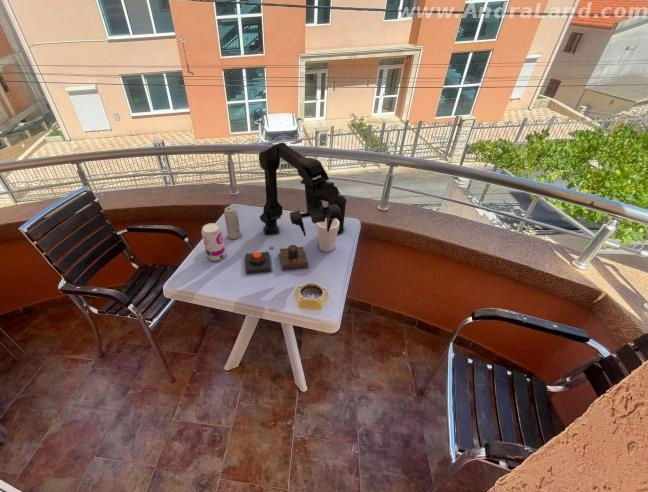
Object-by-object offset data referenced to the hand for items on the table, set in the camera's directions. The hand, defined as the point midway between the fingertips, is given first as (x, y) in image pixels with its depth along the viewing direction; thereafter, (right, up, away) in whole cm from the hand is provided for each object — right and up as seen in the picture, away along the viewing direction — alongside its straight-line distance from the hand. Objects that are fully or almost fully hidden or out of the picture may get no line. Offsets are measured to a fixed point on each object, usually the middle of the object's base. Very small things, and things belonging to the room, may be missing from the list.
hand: (316, 233), depth 126 cm
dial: (-9, -8, +8) cm, 14 cm away
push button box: (-23, -12, +10) cm, 28 cm away
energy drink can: (-35, +1, +27) cm, 45 cm away
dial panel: (-8, -11, +10) cm, 17 cm away
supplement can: (-42, -8, +16) cm, 46 cm away
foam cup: (+7, -5, +16) cm, 18 cm away
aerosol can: (+13, +5, +26) cm, 29 cm away
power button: (-24, -9, +7) cm, 26 cm away
